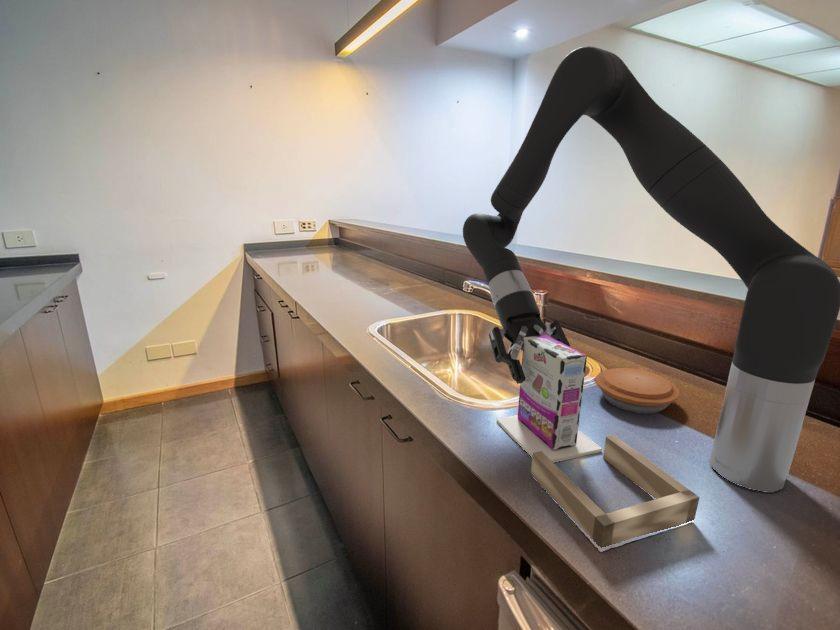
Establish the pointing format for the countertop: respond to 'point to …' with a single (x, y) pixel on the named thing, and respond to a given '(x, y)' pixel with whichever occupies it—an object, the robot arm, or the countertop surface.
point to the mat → (535, 444)
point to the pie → (636, 390)
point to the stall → (626, 523)
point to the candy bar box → (551, 390)
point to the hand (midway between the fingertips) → (543, 378)
